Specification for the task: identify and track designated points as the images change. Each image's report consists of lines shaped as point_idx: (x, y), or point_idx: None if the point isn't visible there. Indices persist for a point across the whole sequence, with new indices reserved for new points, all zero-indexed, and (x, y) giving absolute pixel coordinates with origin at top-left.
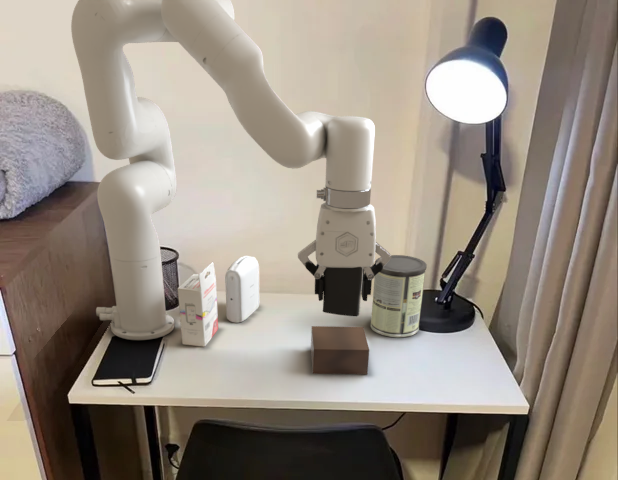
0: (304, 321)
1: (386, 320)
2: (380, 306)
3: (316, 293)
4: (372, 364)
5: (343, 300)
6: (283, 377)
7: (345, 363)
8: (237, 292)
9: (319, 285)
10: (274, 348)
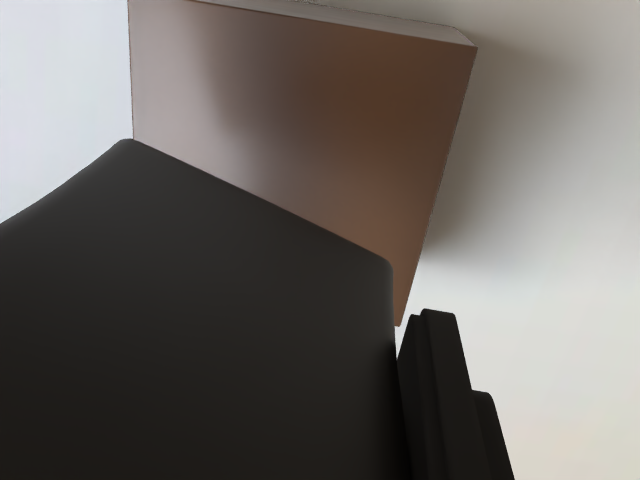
0: None
1: None
2: None
3: (473, 391)
4: None
5: (206, 254)
6: (617, 9)
7: (286, 4)
8: None
9: (482, 445)
10: (546, 292)
